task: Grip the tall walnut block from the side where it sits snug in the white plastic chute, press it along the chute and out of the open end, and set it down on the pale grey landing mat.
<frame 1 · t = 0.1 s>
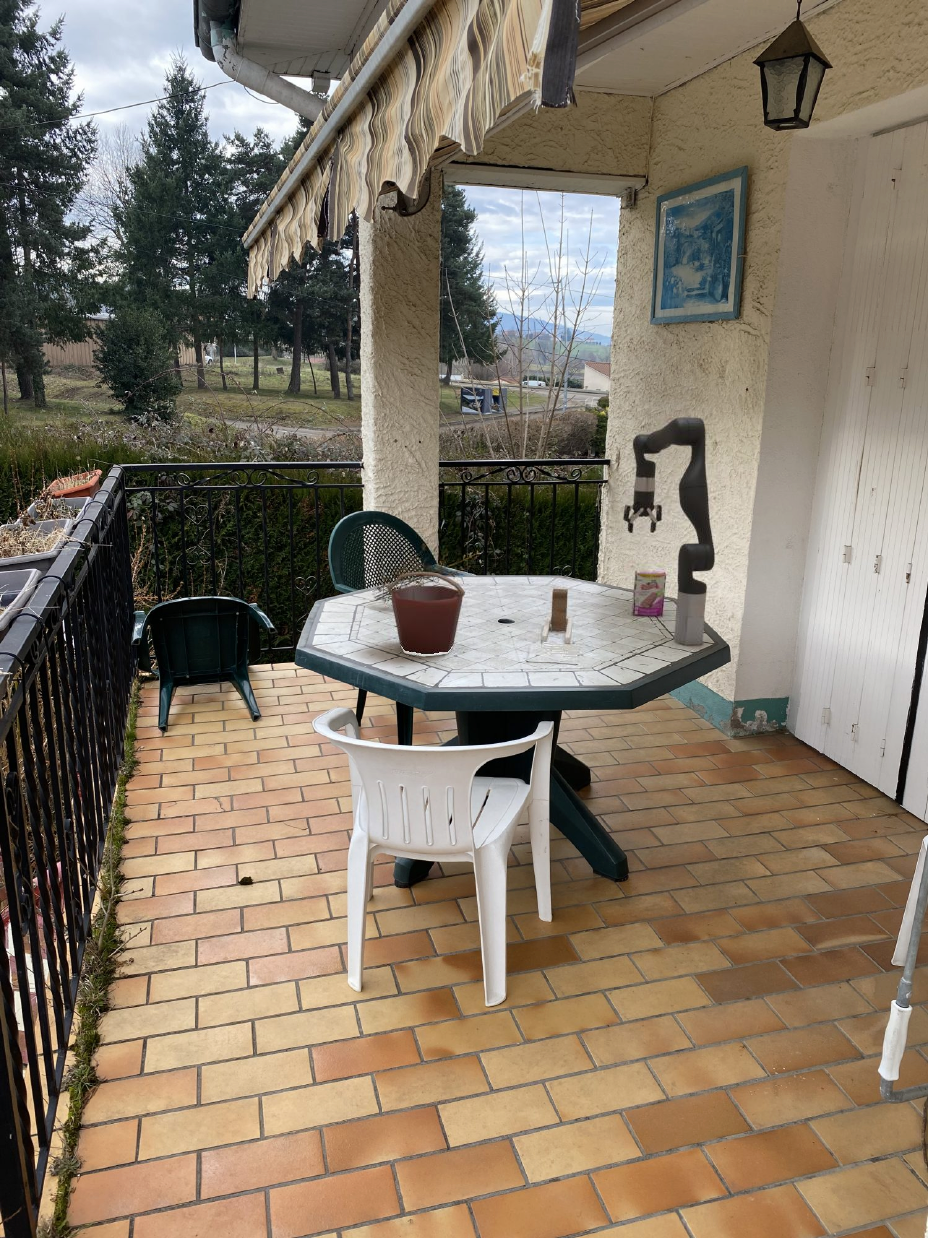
hand: (641, 532, 336), 29 cm above the table, tool pointing down, fingers open, 8 cm apart
bucket: (426, 649, 289), on the table
landing mat: (553, 653, 285), on the table
chute: (557, 634, 307), on the table
walnut block: (558, 629, 313), on the table
candy bar box: (647, 615, 334), on the table
dried plant: (427, 609, 338), on the table
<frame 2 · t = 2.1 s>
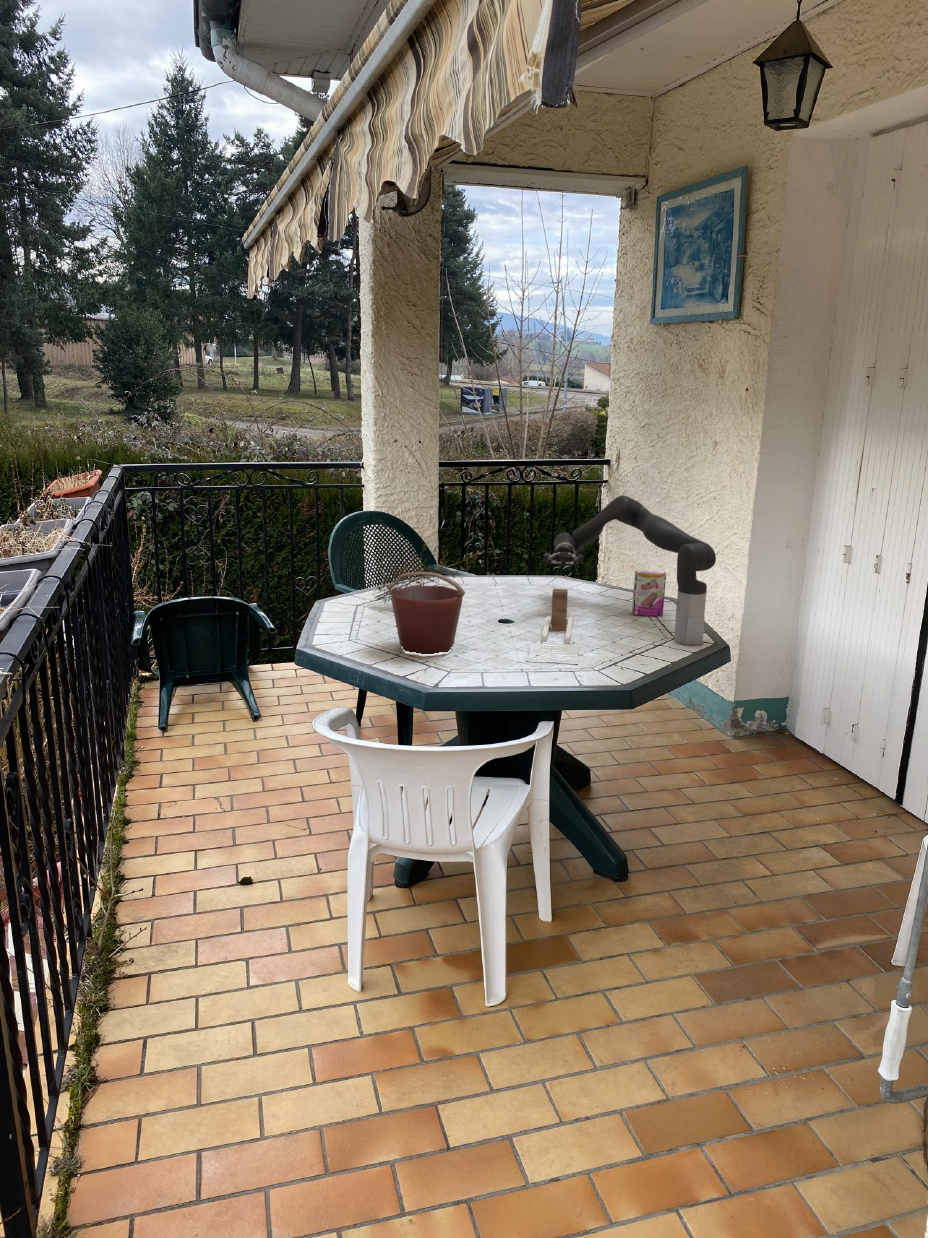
hand: (562, 562, 318), 22 cm above the table, tool horizontal, fingers open, 8 cm apart
nothing on the table moved.
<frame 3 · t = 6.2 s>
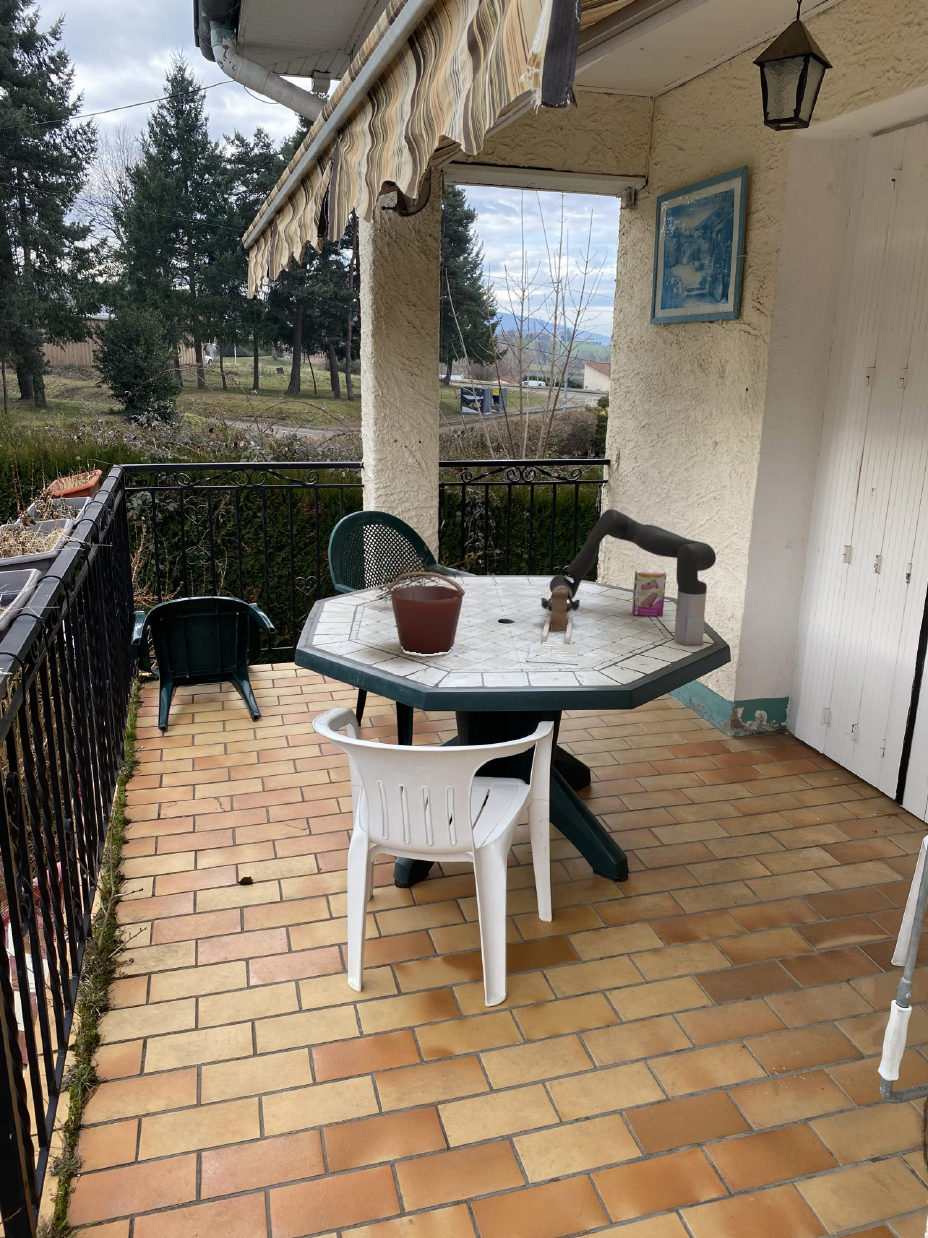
hand: (559, 609, 308), 8 cm above the table, tool horizontal, fingers closed on walnut block, 5 cm apart
walnut block: (558, 629, 313), on the table, touching gripper
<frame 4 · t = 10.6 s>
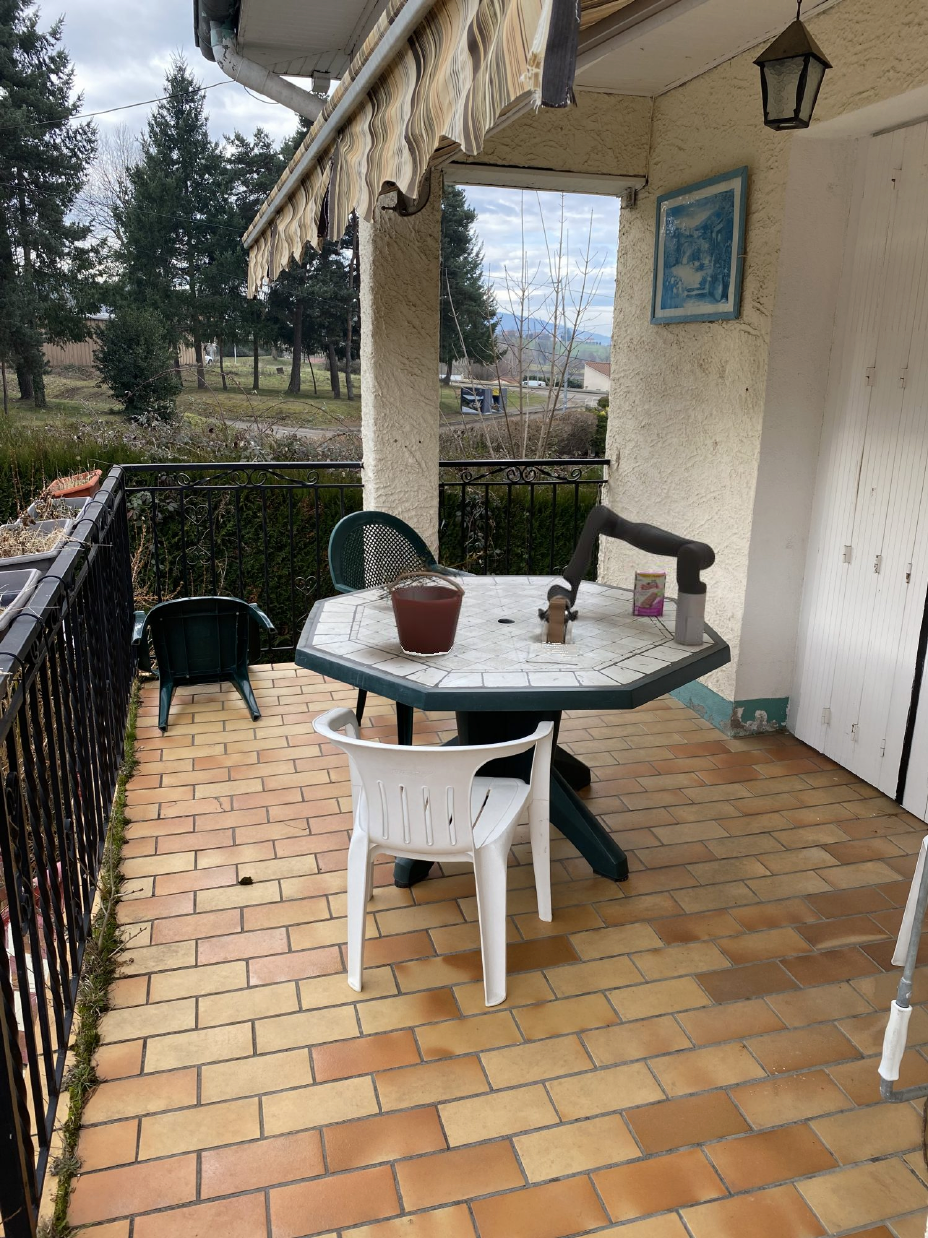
hand: (556, 620, 293), 8 cm above the table, tool horizontal, fingers closed on walnut block, 5 cm apart
walnut block: (555, 641, 298), on the table, touching gripper
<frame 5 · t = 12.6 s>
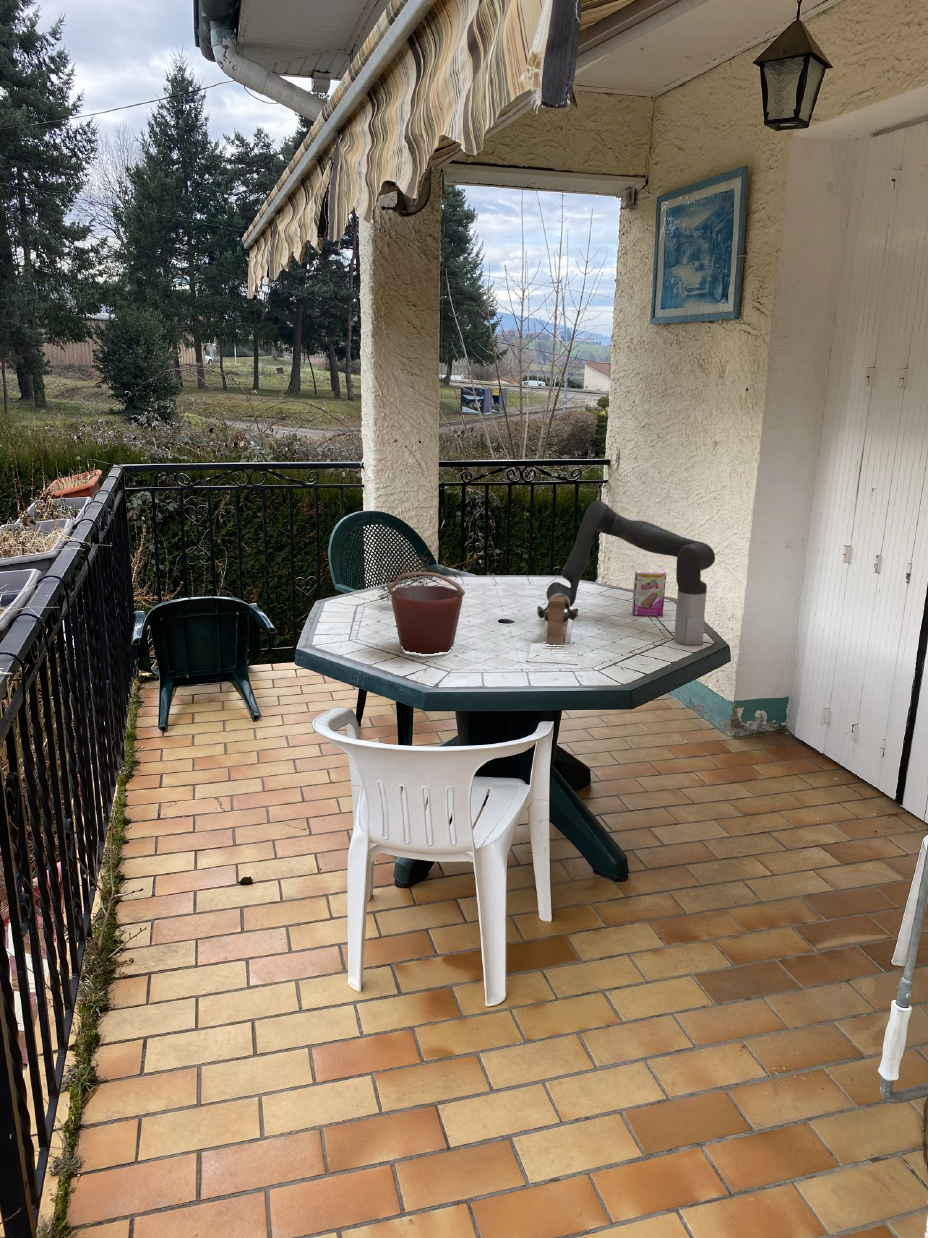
hand: (555, 618, 288), 10 cm above the table, tool horizontal, fingers closed on walnut block, 5 cm apart
walnut block: (555, 640, 293), point 2 cm above the table, touching gripper
when the fingers open (9 cm above the table, at t = 14.6 s): walnut block stays where it is, resting on landing mat.
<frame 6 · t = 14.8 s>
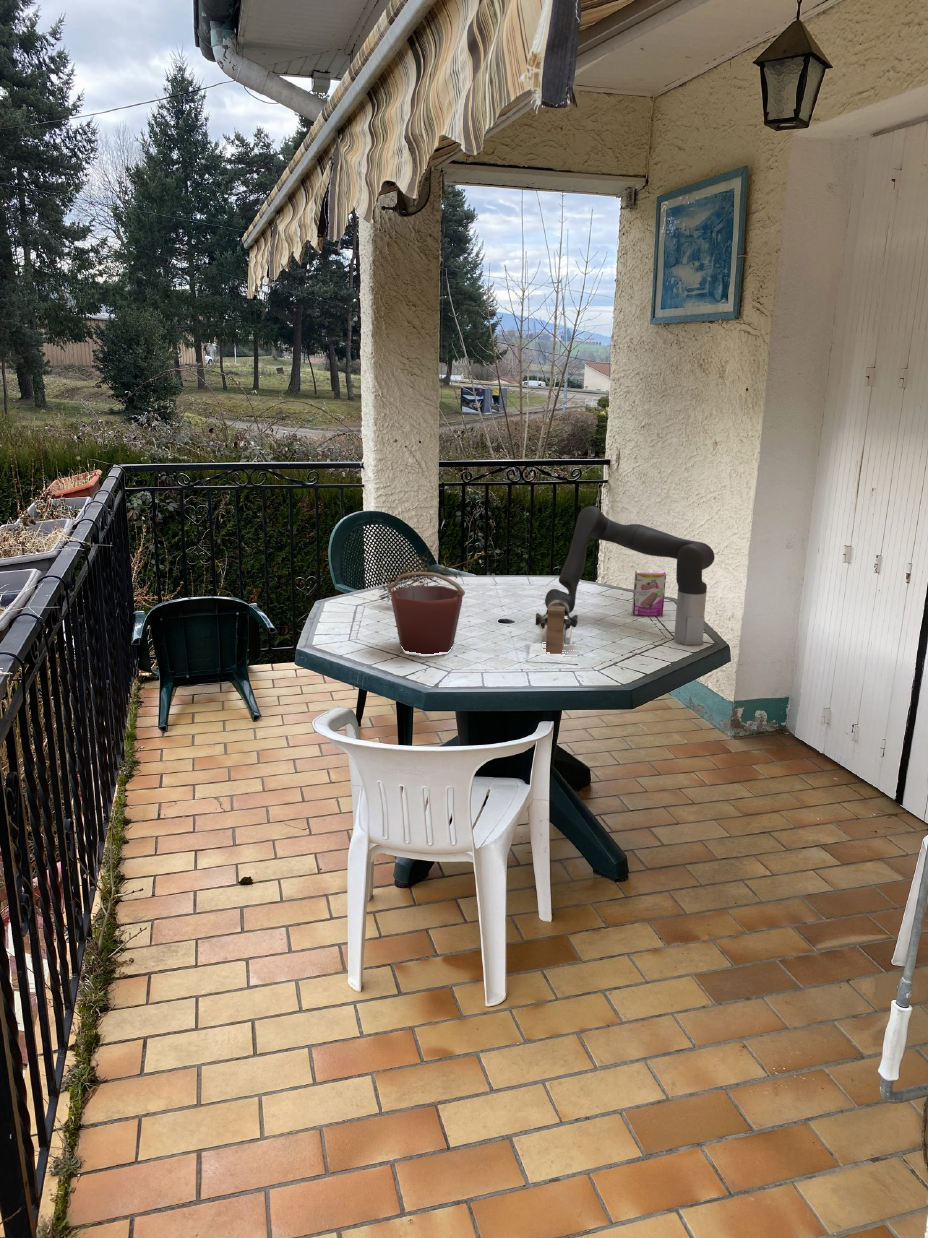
hand: (555, 626, 283), 9 cm above the table, tool horizontal, fingers open, 6 cm apart
walnut block: (554, 650, 287), resting on landing mat
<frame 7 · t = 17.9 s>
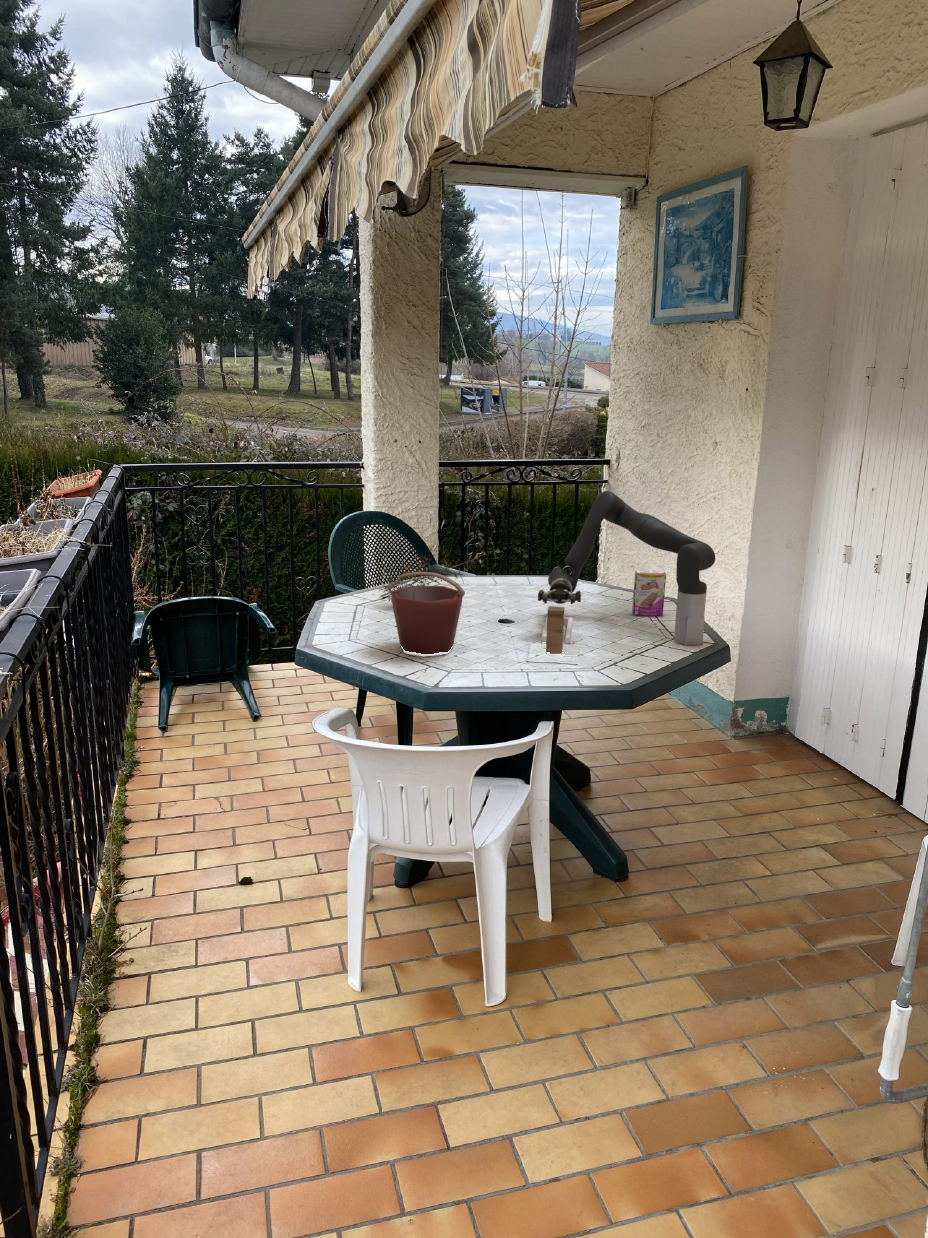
hand: (558, 600, 294), 14 cm above the table, tool horizontal, fingers open, 8 cm apart
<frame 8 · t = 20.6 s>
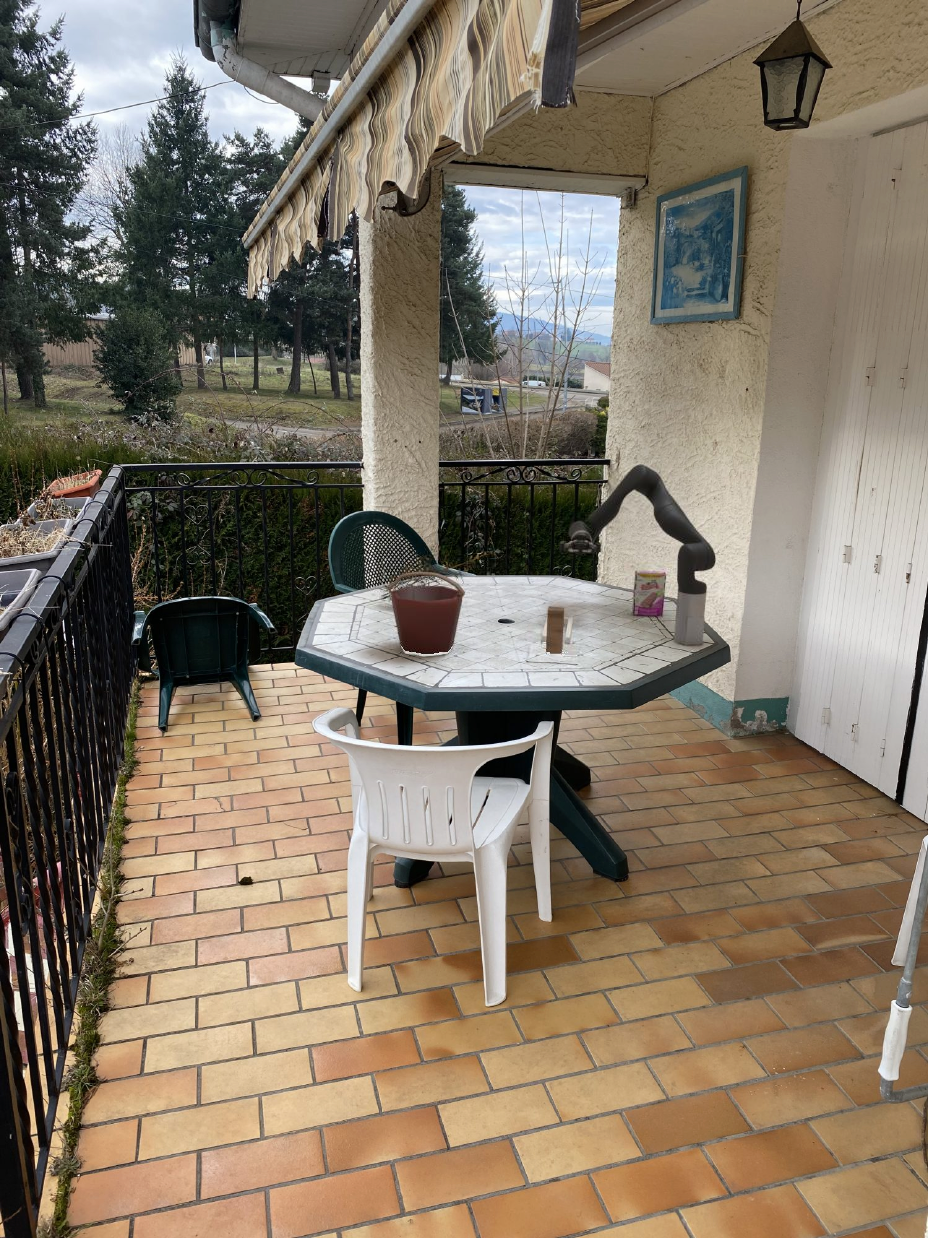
hand: (579, 550, 306), 28 cm above the table, tool horizontal, fingers open, 8 cm apart
at the end: walnut block inside the target area on the landing mat (2.1 cm from its centre), point 0.4 cm above the landing mat's base; walnut block tilted 0°; the gripper is holding nothing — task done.
